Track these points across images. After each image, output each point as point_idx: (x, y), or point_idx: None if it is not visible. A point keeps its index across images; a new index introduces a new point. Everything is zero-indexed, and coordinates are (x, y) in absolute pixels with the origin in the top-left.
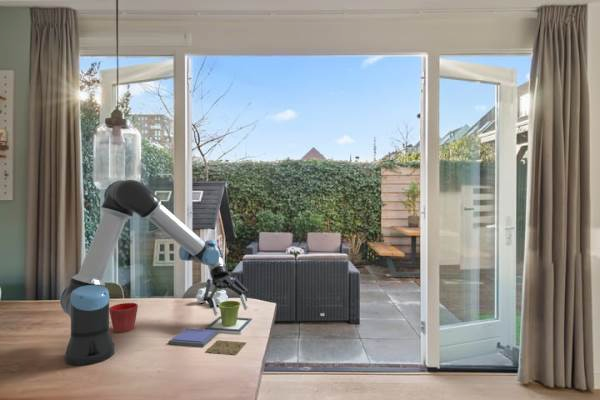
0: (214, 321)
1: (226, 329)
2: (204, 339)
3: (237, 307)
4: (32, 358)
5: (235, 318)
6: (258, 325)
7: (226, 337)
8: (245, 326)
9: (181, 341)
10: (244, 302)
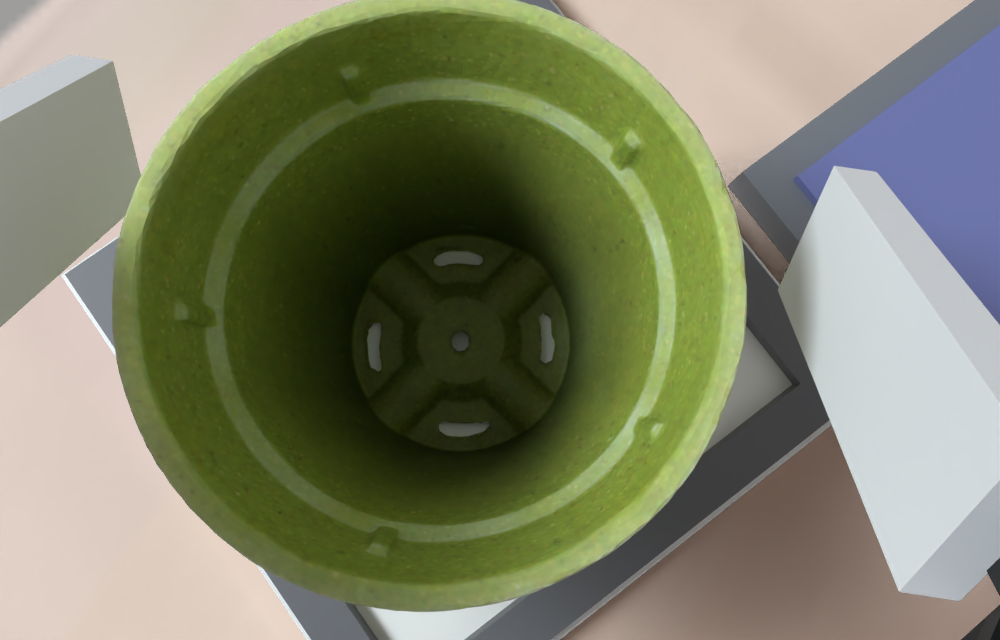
0: (604, 568)
1: None
2: None
3: (353, 57)
4: None
5: (414, 192)
6: (145, 84)
7: (719, 2)
8: None
9: None
10: (29, 130)
